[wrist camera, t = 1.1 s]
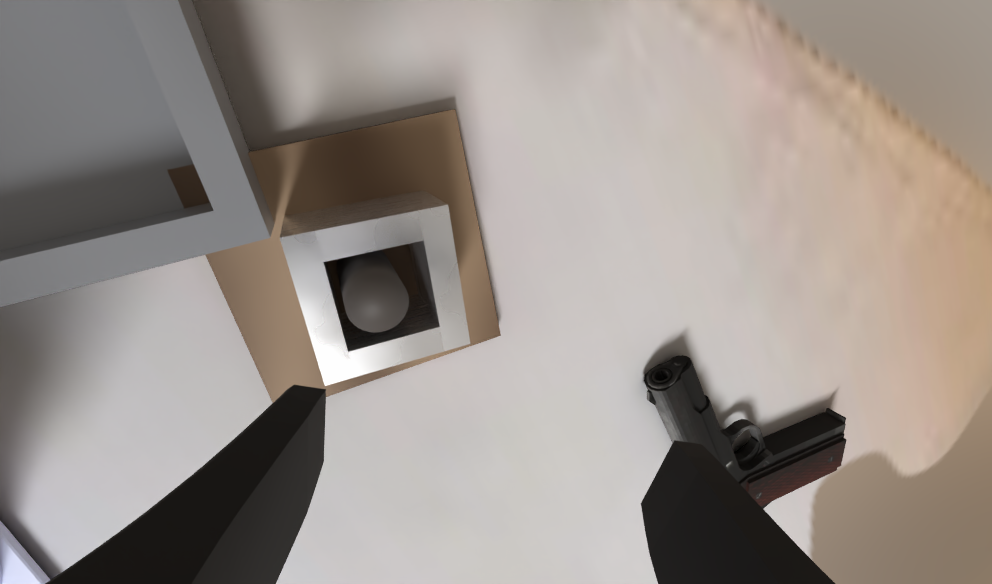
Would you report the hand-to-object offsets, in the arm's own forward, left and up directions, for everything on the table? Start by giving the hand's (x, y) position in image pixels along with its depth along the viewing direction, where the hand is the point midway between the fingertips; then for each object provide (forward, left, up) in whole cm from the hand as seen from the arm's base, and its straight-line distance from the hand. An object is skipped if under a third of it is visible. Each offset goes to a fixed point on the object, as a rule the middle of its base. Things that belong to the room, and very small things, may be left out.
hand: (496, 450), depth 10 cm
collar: (-1, +1, -11) cm, 11 cm away
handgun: (+20, -16, -12) cm, 29 cm away
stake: (-1, +1, -12) cm, 12 cm away
